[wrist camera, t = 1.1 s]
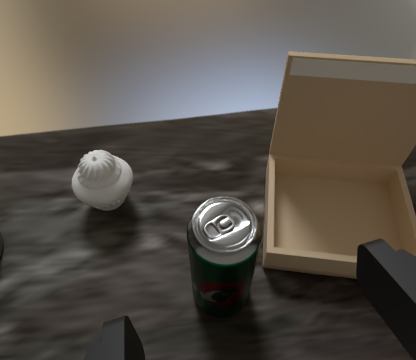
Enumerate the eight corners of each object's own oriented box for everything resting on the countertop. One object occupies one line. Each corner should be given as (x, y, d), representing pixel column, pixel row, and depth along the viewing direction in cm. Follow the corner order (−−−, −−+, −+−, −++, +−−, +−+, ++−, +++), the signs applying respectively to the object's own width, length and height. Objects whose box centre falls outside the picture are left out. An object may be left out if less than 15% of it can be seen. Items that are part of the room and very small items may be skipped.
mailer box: (262, 267, 33) (291, 162, 21) (265, 168, 41) (288, 51, 29) (414, 285, 32) (534, 185, 20) (388, 180, 40) (463, 62, 28)
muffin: (77, 187, 40) (56, 143, 34) (130, 171, 41) (117, 127, 36) (87, 230, 36) (65, 190, 31) (144, 211, 37) (133, 169, 32)
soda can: (259, 297, 32) (280, 229, 22) (215, 332, 30) (217, 274, 20) (225, 256, 34) (231, 180, 25) (182, 285, 32) (170, 215, 23)
